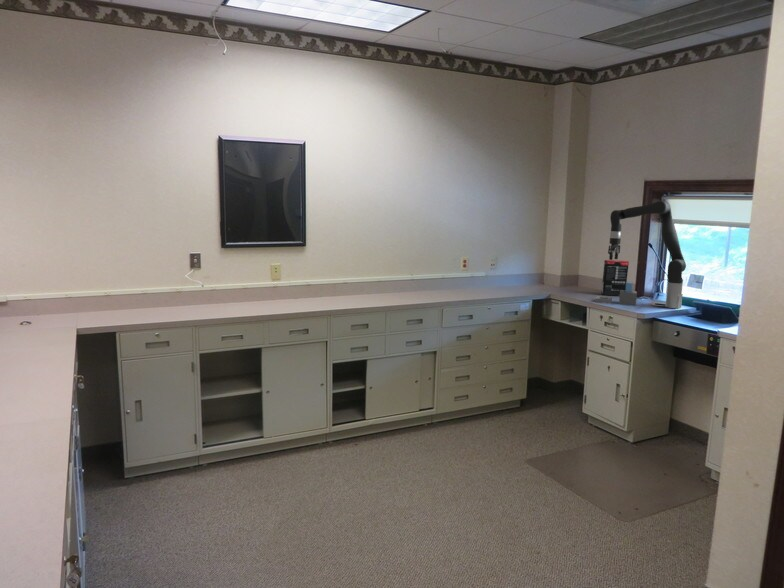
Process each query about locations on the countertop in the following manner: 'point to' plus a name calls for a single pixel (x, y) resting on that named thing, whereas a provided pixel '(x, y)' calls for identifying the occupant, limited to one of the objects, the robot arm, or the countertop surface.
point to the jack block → (621, 298)
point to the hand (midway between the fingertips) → (613, 259)
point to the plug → (628, 287)
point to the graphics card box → (614, 277)
